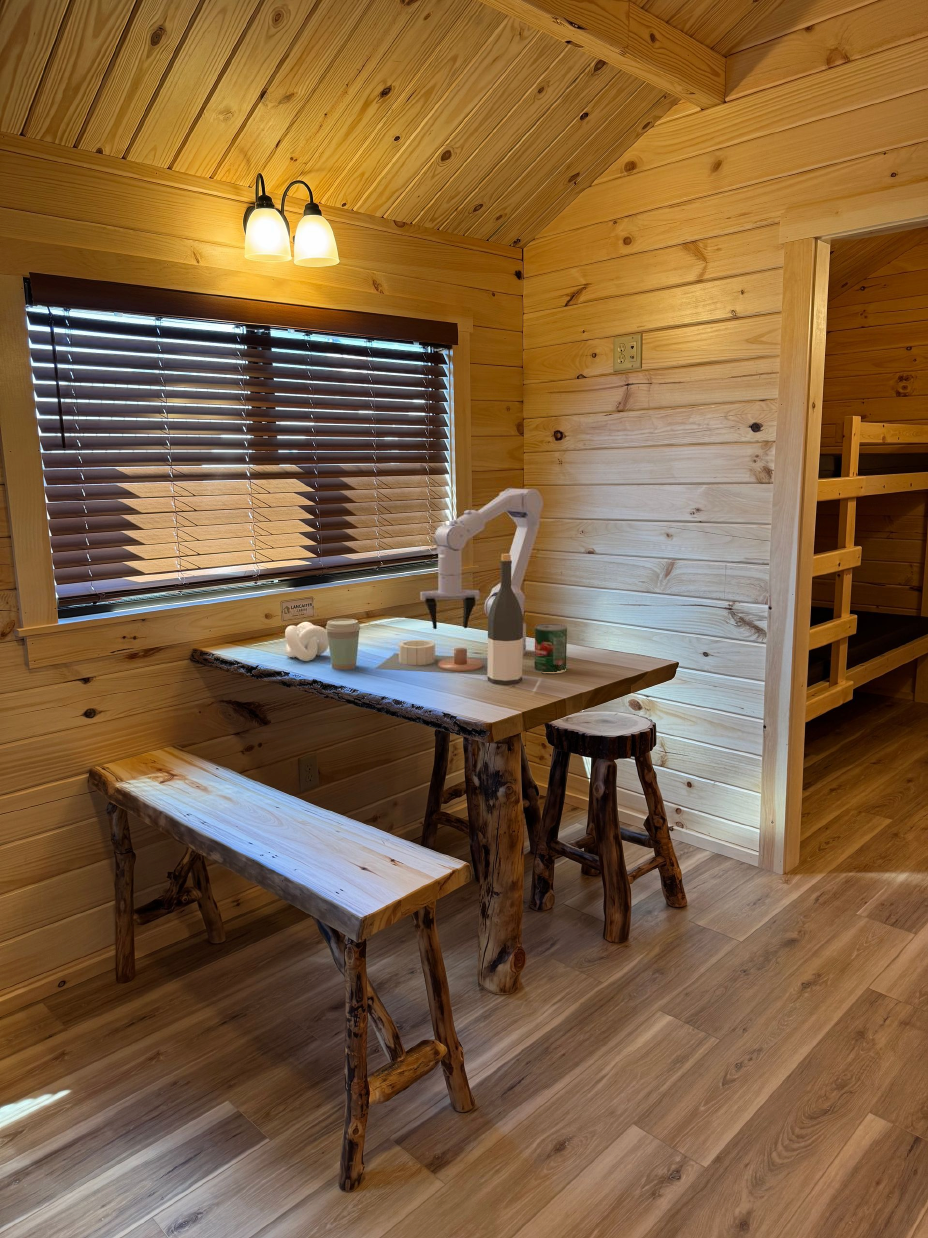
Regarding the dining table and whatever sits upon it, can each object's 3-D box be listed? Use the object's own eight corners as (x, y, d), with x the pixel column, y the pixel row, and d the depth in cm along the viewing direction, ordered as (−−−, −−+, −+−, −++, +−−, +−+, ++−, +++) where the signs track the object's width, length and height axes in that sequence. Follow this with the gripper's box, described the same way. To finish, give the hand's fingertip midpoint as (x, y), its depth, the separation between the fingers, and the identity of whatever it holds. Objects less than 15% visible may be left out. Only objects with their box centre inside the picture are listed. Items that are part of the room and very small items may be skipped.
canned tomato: (571, 668, 208) (572, 625, 206) (558, 675, 202) (559, 630, 200) (542, 664, 212) (543, 622, 210) (528, 671, 206) (529, 627, 204)
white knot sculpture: (313, 665, 211) (312, 630, 210) (272, 661, 215) (270, 627, 213) (334, 655, 222) (333, 622, 220) (294, 652, 226) (293, 619, 224)
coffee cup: (366, 666, 211) (365, 619, 209) (353, 674, 203) (352, 625, 200) (335, 663, 213) (333, 617, 211) (320, 671, 205) (319, 623, 203)
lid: (486, 662, 213) (486, 645, 212) (477, 672, 202) (477, 655, 201) (444, 660, 215) (444, 643, 214) (433, 670, 205) (433, 653, 204)
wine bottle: (480, 682, 196) (480, 554, 190) (503, 676, 201) (505, 551, 195) (505, 689, 190) (507, 557, 184) (529, 682, 195) (531, 554, 190)
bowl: (438, 657, 217) (438, 640, 217) (429, 666, 209) (429, 648, 208) (405, 656, 219) (404, 639, 218) (395, 664, 211) (394, 646, 210)
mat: (499, 660, 217) (499, 658, 217) (486, 676, 200) (486, 674, 200) (395, 655, 223) (394, 653, 222) (374, 670, 206) (374, 668, 206)
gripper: (475, 571, 213) (475, 623, 215) (419, 572, 211) (419, 625, 213) (480, 575, 206) (480, 629, 209) (422, 576, 204) (422, 631, 206)
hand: (450, 627), depth 210 cm, fingers open, 7 cm apart
